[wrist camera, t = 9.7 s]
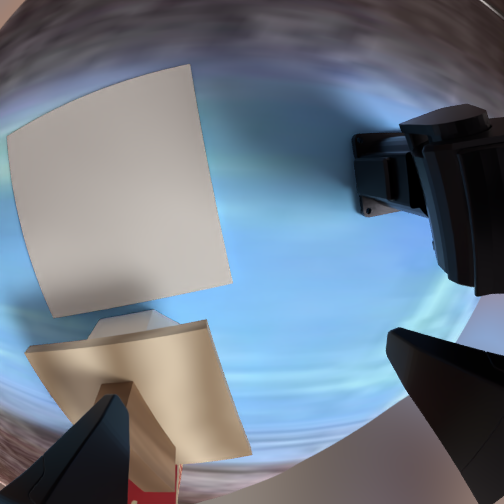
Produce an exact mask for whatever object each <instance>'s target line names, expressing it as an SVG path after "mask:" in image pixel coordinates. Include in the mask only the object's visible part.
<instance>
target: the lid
mask: <svg viewBox="0 0 504 504" xmlns="http://www.w3.org/2000/svg"><path fill="white" fill-rule="evenodd" d="M25 355H26V357H27V359H28V360H29V362H30V364H31V366H32V367H33V369H34V370H35V372H36V374H37V375H38V377H39V378H40V380H41V381H42V383H43V384H44V386H45V387H46V389H47V390H48V392H49V393H50V395H51V396H52V398H53V399H54V400H55V402H56V403H57V404H58V406H59V407H60V408H61V410H62V411H63V412H64V414H65V415H66V416H67V418H68V419H69V420H70V421H71V422H72V424H73V425H74V424H75V423H76V422H77V421H78V420H79V419H80V418H81V417H82V416H83V415H84V414H85V413H86V412H88V411H89V410H90V409H91V408H92V407H93V406H94V405H95V404H96V403H97V402H98V401H99V400H100V399H101V398H102V397H103V396H104V395H106V394H117V395H118V396H119V397H120V399H121V401H122V402H123V404H124V405H125V407H126V408H127V410H128V412H129V431H130V462H129V479H130V480H131V481H132V482H133V483H134V484H135V485H137V486H138V487H139V488H140V489H141V490H143V491H144V492H175V465H177V464H191V463H202V462H211V461H218V460H226V459H232V458H238V457H244V456H249V455H252V451H251V446H250V444H249V441H248V439H247V436H246V434H245V431H244V428H243V426H242V423H241V420H240V418H239V415H238V412H237V410H236V407H235V404H234V401H233V399H232V396H231V393H230V390H229V387H228V384H227V381H226V378H225V375H224V372H223V369H222V366H221V363H220V360H219V357H218V354H217V351H216V348H215V345H214V342H213V338H212V335H211V332H210V329H209V325H208V322H207V319H206V320H201V321H196V322H191V323H185V324H180V325H175V326H169V327H164V328H158V329H153V330H147V331H141V332H135V333H129V334H122V335H116V336H109V337H102V338H95V339H87V340H79V341H71V342H63V343H54V344H44V345H33V346H29V348H28V349H27V350H26V351H25Z"/></svg>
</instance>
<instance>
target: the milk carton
mask: <svg viewBox="0 0 504 504" xmlns="http://www.w3.org/2000/svg"><path fill="white" fill-rule="evenodd" d="M182 467H183V464H177V465H175V492H144V491H143V490H141V489H140V488H139V487H138V486H137V485H135V484H134V483H133V482H132V481H131V480H130V479H128V504H178V493H179V486H180V480H181V473H182Z"/></svg>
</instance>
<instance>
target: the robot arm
mask: <svg viewBox="0 0 504 504" xmlns="http://www.w3.org/2000/svg"><path fill="white" fill-rule="evenodd" d="M399 126H400V129H401V131H402V133H364V134H356V135H354V136H353V137H352V144H353V150H354V157H355V161H354V167H355V175H356V183H357V192H358V194H359V196H360V206H361V213H362V215H363V216H365V217H373V216H378V215H383V214H388V213H393V212H398V211H404V212H408V213H412V214H415V215H419V216H422V217H425V218H429V221H430V226H431V231H432V237H433V241H432V244H433V249H434V250H435V254H436V258H437V262H438V265H439V266H440V267H441V268H442V269H443V270H444V271H445V272H446V273H447V274H448V279H449V280H451V281H453V282H455V283H457V284H460V285H464V286H468V287H475V296H477V297H479V296H483V295H489V294H504V117H501V118H490V119H489V118H488V115H487V111H486V110H484V109H481V108H478V107H475V106H472V105H469V104H462V105H456V106H450V107H445V108H441V109H438V110H435V111H432V112H429V113H427V114H424V115H421V116H419V117H416V118H413V119H411V120H408V121H405V122H403V123H400V124H399ZM357 138H359V139H360V143H358V141H357ZM367 208H368V209H369V212H368V213H366V209H367ZM386 354H387V357H388V359H389V361H390V362H391V364H392V366H393V368H394V370H395V371H396V373H397V375H398V377H399V379H400V381H401V382H402V384H403V386H404V388H405V389H406V391H407V392H408V394H409V395H410V397H411V398H412V400H413V401H414V402H415V404H416V406H417V407H418V408H419V410H420V411H421V413H422V414H423V416H424V417H425V419H426V420H427V422H428V423H429V425H430V426H431V428H432V429H433V431H434V432H435V434H436V435H437V437H438V438H439V440H440V441H441V443H442V444H443V446H444V447H445V449H446V450H447V452H448V454H449V455H450V457H451V458H452V460H453V462H454V463H455V465H456V466H457V468H458V469H459V471H460V472H461V475H462V477H463V478H464V480H465V481H466V483H467V485H468V486H469V488H470V490H471V492H472V493H473V495H474V497H475V498H476V500H477V502H478V504H494V503H495V502H496V501H498V500H499V499H500V498H502V497H503V496H504V356H503V355H499V354H494V353H490V352H485V351H483V350H479V349H475V348H471V347H468V346H464V345H460V344H457V343H453V342H449V341H446V340H442V339H439V338H435V337H432V336H428V335H425V334H421V333H418V332H414V331H411V330H407V329H404V328H400V327H398V328H395V329H393V330H390V331H389V332H388V335H387V344H386ZM129 462H130V431H129V412H128V410H127V408H126V407H125V405H124V404H123V402H122V401H121V399H120V397H119V396H118V395H117V394H106V395H104V396H103V397H102V398H101V399H100V400H99V401H98V402H97V403H96V404H95V405H94V406H93V407H92V408H91V409H90V410H89V411H88V412H86V413H85V414H84V415H83V416H82V417H81V418H80V419H79V420H78V421H77V422H76V423H75V424H74V425H73V426H72V427H71V428H70V429H69V430H68V431H67V432H66V433H65V434H64V435H63V436H62V437H61V438H60V439H59V440H58V441H57V442H56V443H55V444H54V445H52V446H51V447H50V448H49V449H48V450H47V451H46V452H45V453H44V454H43V456H41V457H40V458H39V459H38V460H37V461H36V462H35V463H34V464H33V465H32V466H31V467H29V468H28V469H27V470H26V471H25V472H24V473H22V474H21V475H20V476H19V477H17V478H16V479H15V480H14V481H12V482H11V483H10V484H8V485H7V486H6V487H5V488H3V489H2V490H1V491H0V504H128V479H129Z"/></svg>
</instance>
